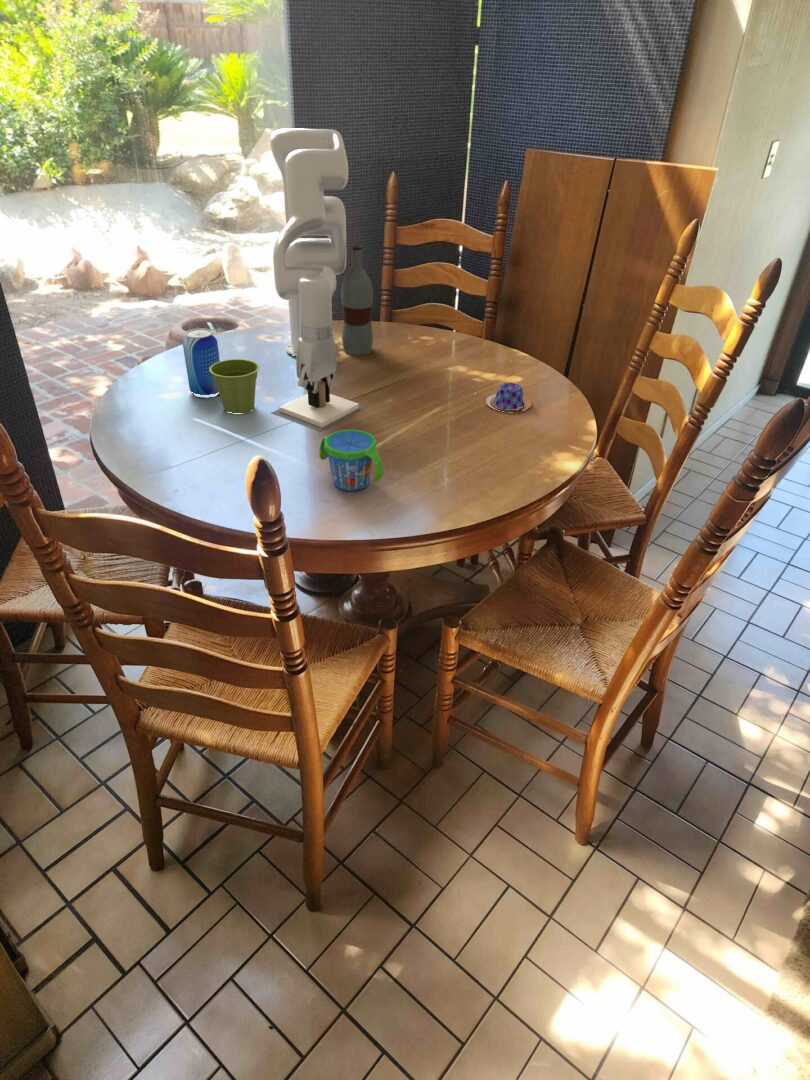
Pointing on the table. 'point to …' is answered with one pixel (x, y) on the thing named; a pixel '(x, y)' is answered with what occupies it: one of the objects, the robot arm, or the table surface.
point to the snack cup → (351, 458)
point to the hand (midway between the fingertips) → (319, 402)
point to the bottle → (357, 308)
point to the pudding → (507, 396)
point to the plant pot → (236, 383)
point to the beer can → (201, 360)
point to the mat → (311, 423)
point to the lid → (319, 408)
